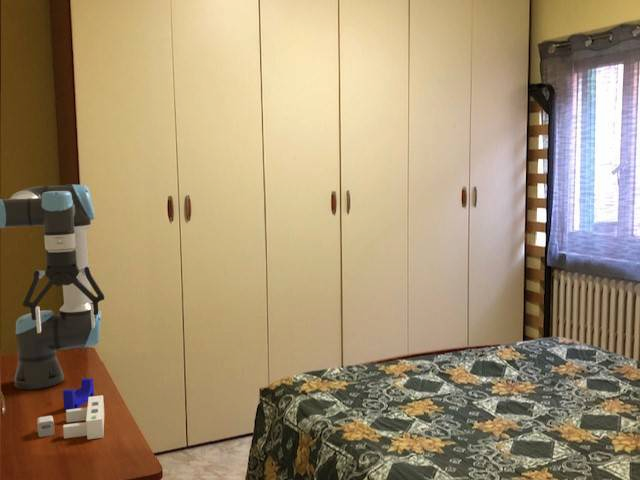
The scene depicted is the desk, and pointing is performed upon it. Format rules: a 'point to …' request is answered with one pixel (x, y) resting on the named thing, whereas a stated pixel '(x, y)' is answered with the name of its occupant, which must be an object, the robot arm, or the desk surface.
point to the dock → (93, 420)
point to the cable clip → (78, 395)
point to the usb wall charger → (45, 426)
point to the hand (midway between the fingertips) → (66, 329)
